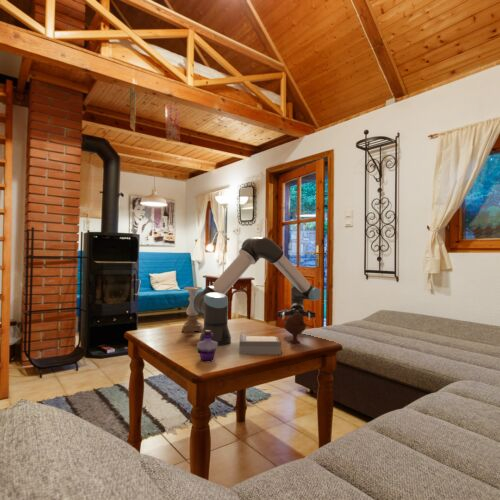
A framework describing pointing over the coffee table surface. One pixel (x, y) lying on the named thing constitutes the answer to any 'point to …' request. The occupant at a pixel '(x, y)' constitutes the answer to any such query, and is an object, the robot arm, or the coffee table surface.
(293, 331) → the ice cream bowl
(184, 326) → the candle holder
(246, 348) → the step dock
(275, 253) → the robot arm
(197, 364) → the coffee table surface
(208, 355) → the potion bottle
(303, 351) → the coffee table surface
